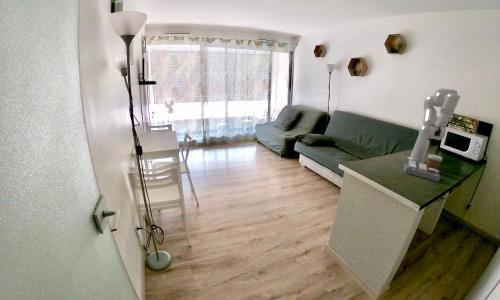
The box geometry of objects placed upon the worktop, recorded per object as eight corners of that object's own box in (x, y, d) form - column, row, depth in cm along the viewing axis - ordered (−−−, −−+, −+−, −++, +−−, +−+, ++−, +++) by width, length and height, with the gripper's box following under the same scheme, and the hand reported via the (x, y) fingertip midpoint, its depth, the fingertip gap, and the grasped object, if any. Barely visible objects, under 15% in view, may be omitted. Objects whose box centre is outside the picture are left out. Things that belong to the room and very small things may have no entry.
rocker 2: (418, 163, 176) (419, 162, 176) (425, 165, 174) (426, 164, 174) (419, 169, 170) (420, 168, 169) (426, 171, 168) (427, 170, 167)
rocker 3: (428, 169, 174) (429, 167, 174) (435, 170, 172) (435, 169, 172) (431, 170, 166) (432, 168, 166) (438, 172, 164) (439, 170, 164)
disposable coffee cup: (431, 172, 180) (437, 158, 175) (419, 167, 188) (425, 153, 184) (439, 172, 182) (446, 158, 178) (428, 167, 191) (434, 154, 187)
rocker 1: (408, 161, 179) (409, 160, 178) (414, 163, 177) (415, 161, 177) (408, 167, 172) (409, 165, 172) (415, 168, 171) (416, 167, 170)
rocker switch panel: (402, 165, 188) (404, 160, 186) (433, 173, 179) (435, 168, 177) (404, 172, 172) (406, 167, 171) (438, 181, 164) (440, 176, 162)
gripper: (438, 109, 172) (428, 132, 178) (442, 111, 159) (432, 136, 166) (450, 111, 169) (440, 135, 175) (456, 114, 156) (444, 139, 163)
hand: (436, 135), depth 170 cm, fingers closed
